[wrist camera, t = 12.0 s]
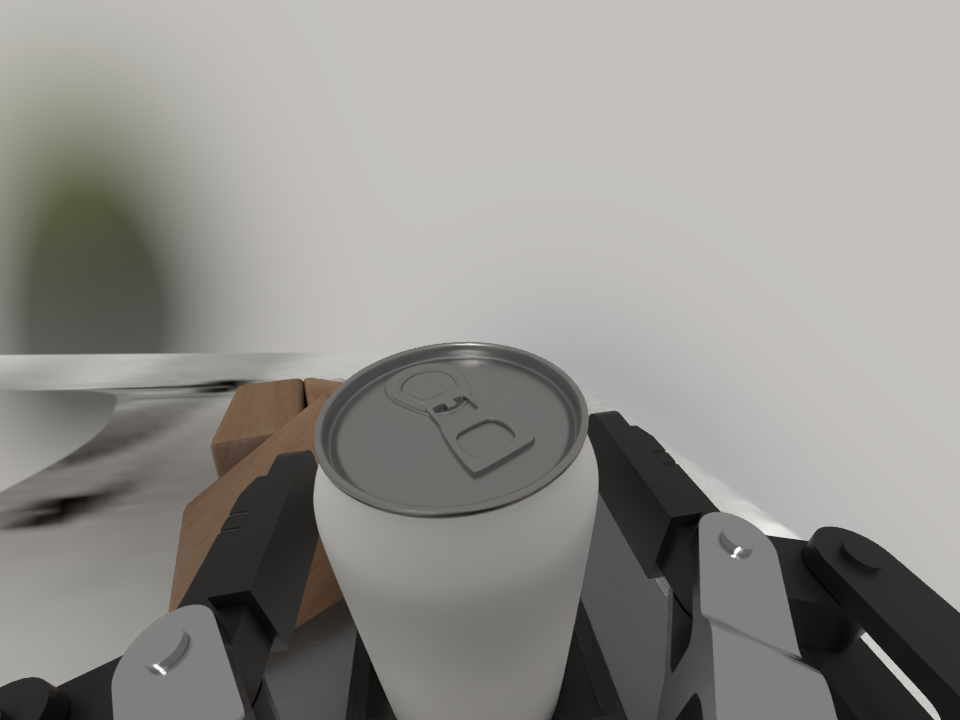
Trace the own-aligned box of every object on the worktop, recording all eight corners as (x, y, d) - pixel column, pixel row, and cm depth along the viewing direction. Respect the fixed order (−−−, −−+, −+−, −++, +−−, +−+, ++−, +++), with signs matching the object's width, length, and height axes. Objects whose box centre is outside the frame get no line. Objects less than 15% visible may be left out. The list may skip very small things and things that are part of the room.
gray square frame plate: (177, 1106, 7) (108, 1135, 6) (326, 526, 18) (313, 493, 17) (786, 899, 9) (833, 888, 7) (577, 487, 20) (582, 455, 19)
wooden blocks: (411, 418, 31) (513, 590, 16) (237, 451, 26) (133, 765, 10) (408, 339, 29) (523, 450, 13) (215, 356, 23) (37, 579, 8)
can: (491, 541, 17) (485, 317, 11) (599, 676, 12) (683, 415, 7) (365, 631, 14) (264, 385, 8) (446, 858, 9) (346, 666, 3)
